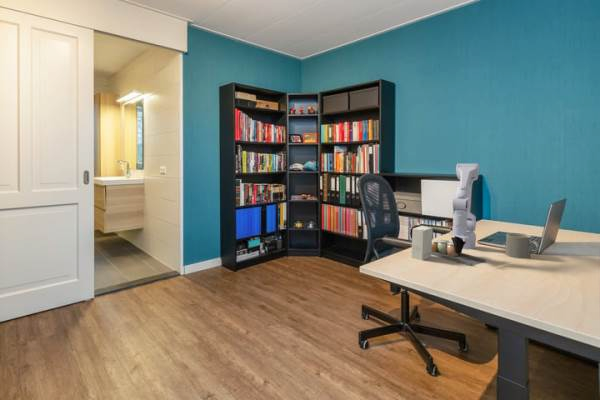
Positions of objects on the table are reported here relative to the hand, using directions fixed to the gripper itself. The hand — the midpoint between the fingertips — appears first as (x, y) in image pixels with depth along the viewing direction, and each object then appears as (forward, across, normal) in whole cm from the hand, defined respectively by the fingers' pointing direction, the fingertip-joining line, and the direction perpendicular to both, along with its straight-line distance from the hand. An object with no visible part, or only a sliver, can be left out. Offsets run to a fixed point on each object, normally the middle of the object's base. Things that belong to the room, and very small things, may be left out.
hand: (458, 253), depth 153 cm
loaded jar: (+2, +8, +4) cm, 9 cm away
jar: (+2, +4, +1) cm, 5 cm away
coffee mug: (+3, +5, -32) cm, 32 cm away
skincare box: (+3, 0, +17) cm, 17 cm away
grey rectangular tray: (+3, +3, +2) cm, 4 cm away
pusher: (+3, +10, +6) cm, 13 cm away
